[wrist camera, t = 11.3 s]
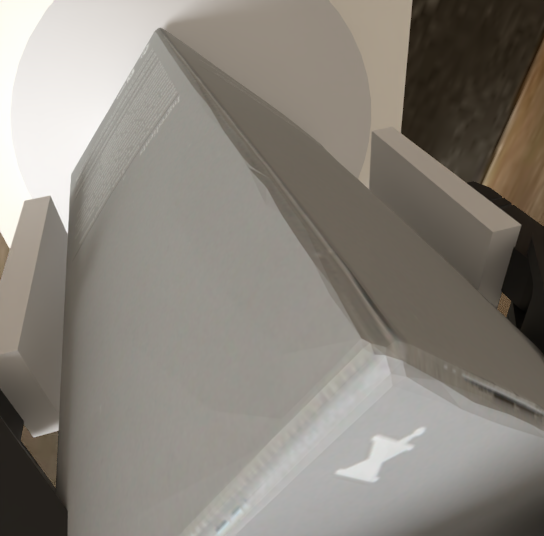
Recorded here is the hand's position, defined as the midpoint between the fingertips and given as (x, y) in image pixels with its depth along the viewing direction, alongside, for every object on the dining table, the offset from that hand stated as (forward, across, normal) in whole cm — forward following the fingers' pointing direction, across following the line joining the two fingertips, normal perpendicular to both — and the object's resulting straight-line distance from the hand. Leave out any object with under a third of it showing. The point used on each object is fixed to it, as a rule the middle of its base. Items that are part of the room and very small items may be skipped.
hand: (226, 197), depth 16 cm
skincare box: (+4, 0, 0) cm, 4 cm away
